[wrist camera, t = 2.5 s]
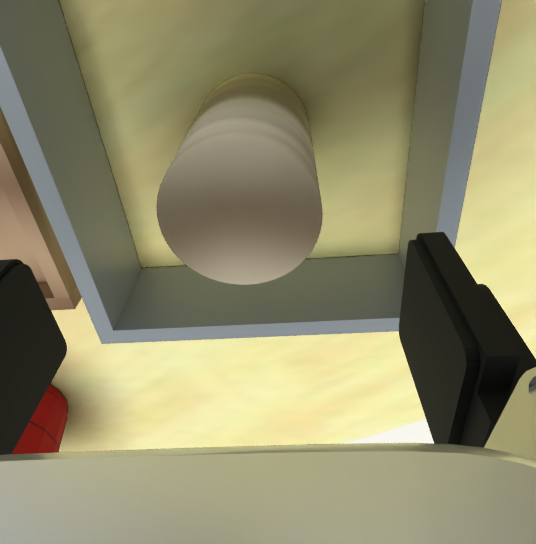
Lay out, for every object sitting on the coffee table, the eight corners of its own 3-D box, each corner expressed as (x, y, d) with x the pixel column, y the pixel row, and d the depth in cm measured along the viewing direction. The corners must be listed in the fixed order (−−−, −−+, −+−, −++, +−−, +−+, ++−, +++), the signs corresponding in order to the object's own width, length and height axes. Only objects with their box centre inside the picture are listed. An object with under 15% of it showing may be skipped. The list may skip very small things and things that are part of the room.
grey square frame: (15, -66, 16) (-77, -73, 12) (461, -117, 15) (529, -144, 11) (131, 280, 25) (101, 343, 21) (412, 265, 24) (438, 329, 20)
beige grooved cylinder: (188, 78, 19) (138, 144, 12) (307, 68, 18) (321, 130, 12) (208, 187, 21) (175, 288, 15) (311, 180, 21) (323, 280, 15)
